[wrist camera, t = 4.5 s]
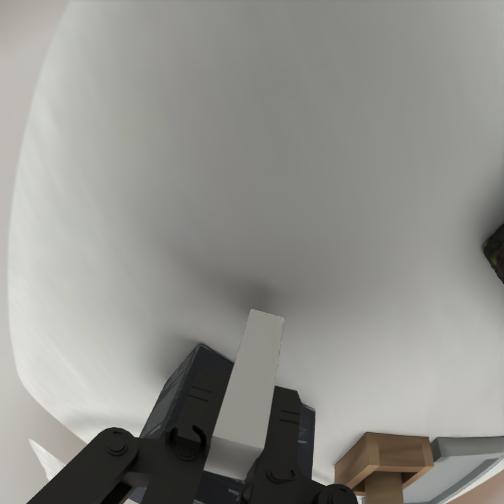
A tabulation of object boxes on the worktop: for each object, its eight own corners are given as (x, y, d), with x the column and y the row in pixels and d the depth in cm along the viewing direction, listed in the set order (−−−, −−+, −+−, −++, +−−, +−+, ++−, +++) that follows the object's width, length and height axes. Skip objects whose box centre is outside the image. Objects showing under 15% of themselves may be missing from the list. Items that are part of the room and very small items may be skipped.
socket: (366, 432, 20) (368, 464, 17) (428, 437, 20) (434, 466, 17) (334, 465, 23) (333, 493, 20) (392, 469, 22) (394, 496, 20)
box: (164, 380, 21) (109, 491, 12) (201, 339, 18) (138, 477, 10) (268, 438, 22) (248, 545, 13) (318, 408, 19) (310, 537, 11)
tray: (437, 437, 20) (441, 456, 18) (507, 436, 19) (512, 451, 17) (361, 499, 26) (361, 513, 24) (429, 497, 25) (431, 510, 23)
